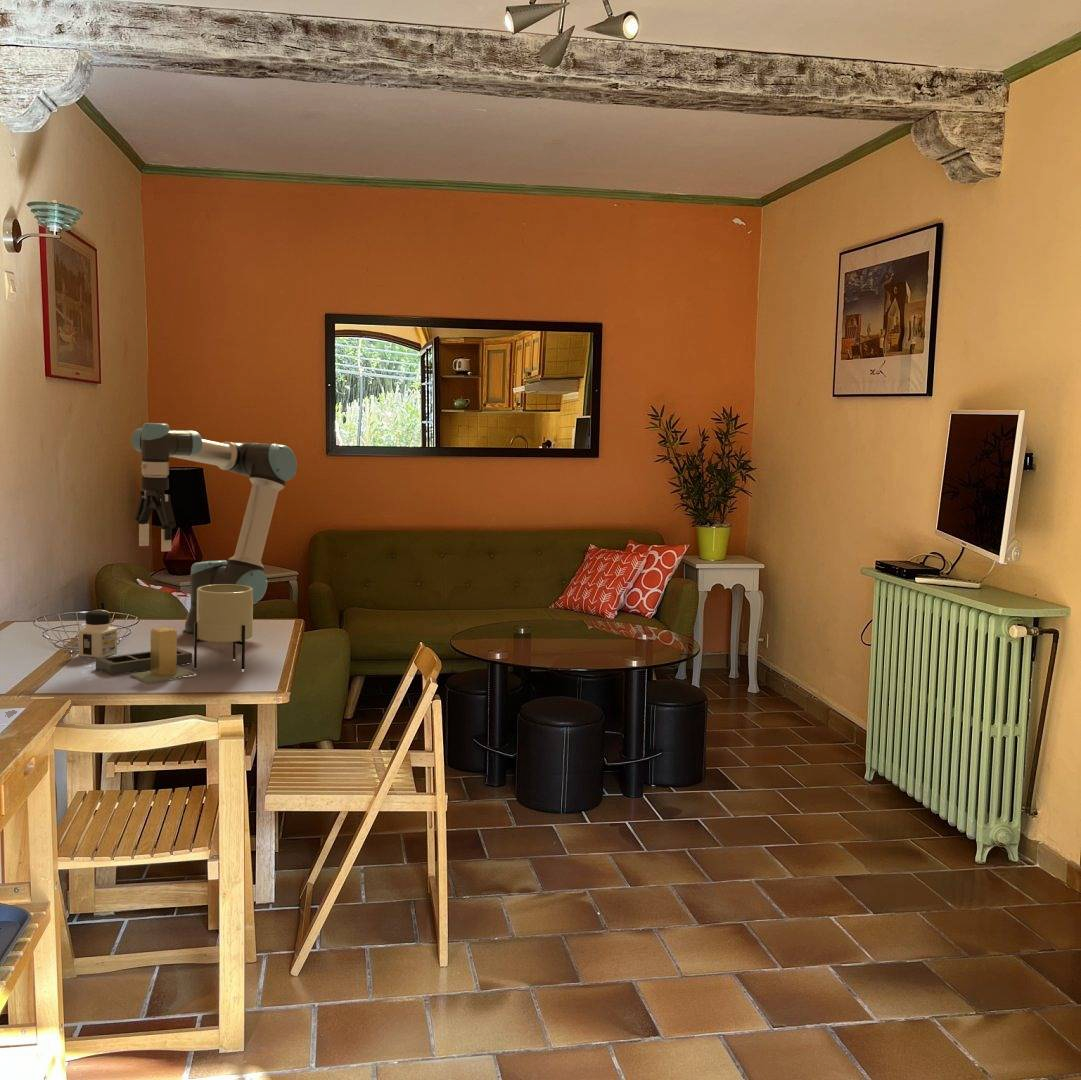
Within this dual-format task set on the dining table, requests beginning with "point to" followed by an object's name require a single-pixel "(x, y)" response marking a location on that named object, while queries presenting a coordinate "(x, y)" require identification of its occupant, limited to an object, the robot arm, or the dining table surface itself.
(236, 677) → the dining table surface
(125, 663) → the grey compartment tray
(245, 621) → the planter
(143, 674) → the mat
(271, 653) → the dining table surface
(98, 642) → the container
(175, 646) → the wooden block
